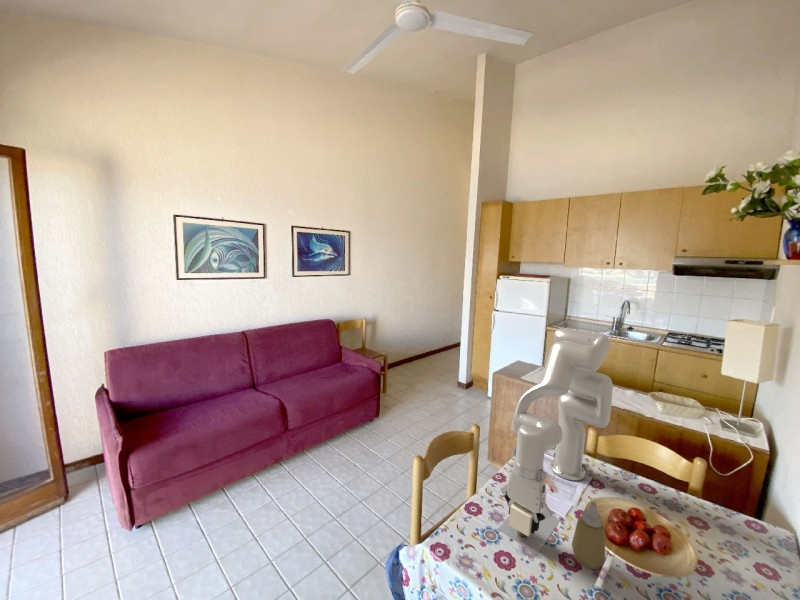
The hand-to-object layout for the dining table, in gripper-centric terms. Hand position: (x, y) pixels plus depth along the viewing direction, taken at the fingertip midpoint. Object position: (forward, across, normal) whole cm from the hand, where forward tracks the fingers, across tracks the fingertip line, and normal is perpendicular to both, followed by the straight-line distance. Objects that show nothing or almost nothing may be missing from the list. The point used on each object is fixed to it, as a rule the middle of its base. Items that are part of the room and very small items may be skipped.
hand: (523, 523), depth 101 cm
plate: (+5, 0, -5) cm, 7 cm away
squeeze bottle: (+5, -16, -5) cm, 18 cm away
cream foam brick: (0, 0, 0) cm, 0 cm away
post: (+3, 0, 0) cm, 3 cm away
